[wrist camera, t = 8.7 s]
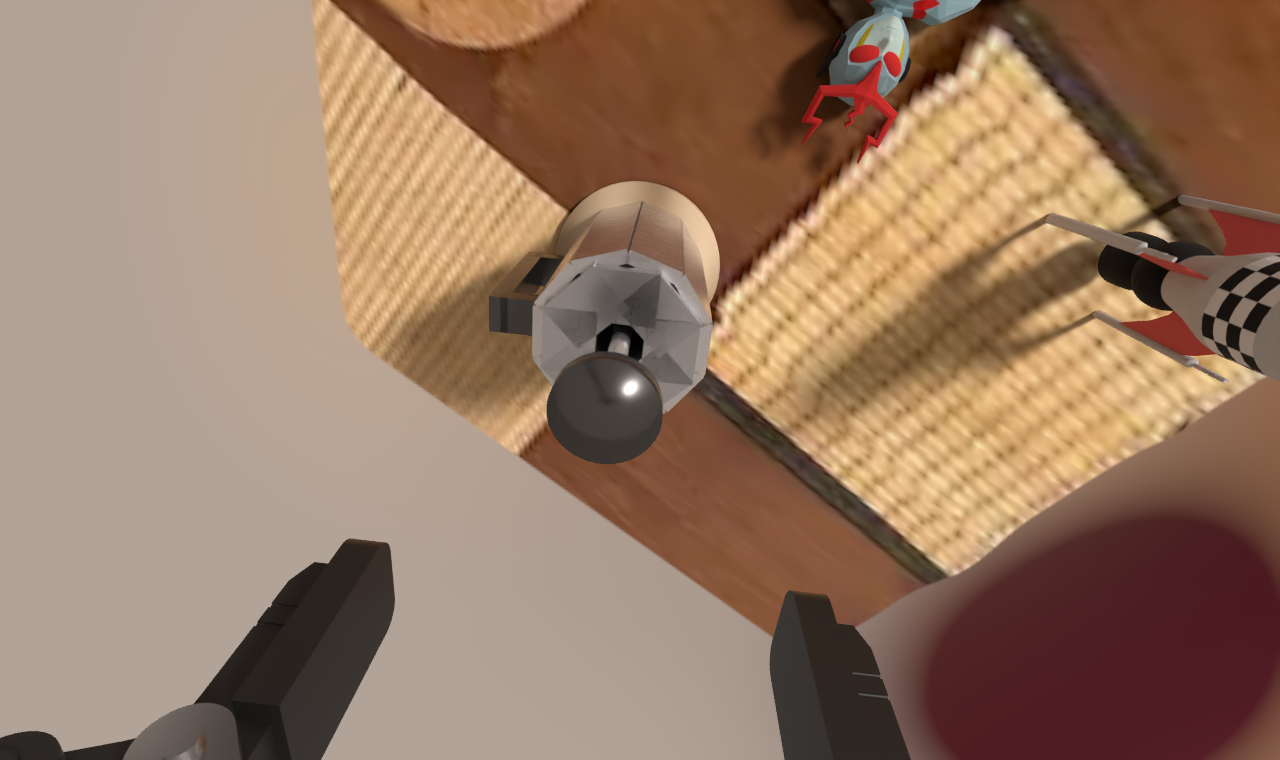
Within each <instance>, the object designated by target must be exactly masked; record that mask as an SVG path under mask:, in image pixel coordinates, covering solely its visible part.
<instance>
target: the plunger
mask: <svg viewBox="0 0 1280 760" xmlns="http://www.w3.org/2000/svg"><path fill="white" fill-rule="evenodd" d="M619 266H626V267H634V266H631V265H629V264H623V265H619ZM635 268H636V267H635ZM671 284H672V283H671ZM672 285H673V287H674V288H675V289H676V290H677V288H676V286H675V285H674V284H672ZM677 292H678V290H677ZM678 293H679V292H678ZM679 294H680V293H679ZM609 326H611V327H613V328H614V329H613V333H612V337H611V341H610V344H609V348H608V351H600V352H592V353H588V354H585V355H582V356H580V357H578V358H576V359H574V360H573V361H571V362H570V363H568V364H567V365H566V366H565V367H564V368H563V369H562V370H561V372H560V373H559V375H558V376H557V378H556V380H555V382H554V385H553V387H552V389H551V392H550V394H549V397H548V401H547V418H548V423H549V426H550V429H551V431H552V433H553V434H554V436H555V437H556V439H557V440H558V441H559V443H560V444H561V445H562V446H563V447H564V448H565V449H567V450H568V451H569V452H571V453H572V454H574V455H576V456H577V457H579V458H582V459H584V460H587V461H590V462H594V463H600V464H614V463H621V462H625V461H628V460H631V459H633V458H635V457H637V456H639V455H640V454H642V453H643V452H644V451H646V450H647V449H648V448H649V447H650V446H651V445H652V443H653V442H654V441H655V439H656V437H657V436H658V434H659V431H660V428H661V424H662V413H663V398H662V393H661V389H660V387H659V384H658V382H657V380H656V379H655V377H654V376H653V374H652V373H651V372H650V371H649V370H648V369H647V368H646V367H645V366H644V365H643V364H641V363H640V362H639V361H637V360H635V359H634V358H632V357H629V356H628V351H629V346H630V340H631V335H632V332H636V331H635V329H634V328H633V327H632V326H631V325H622V324H613V323H611V324H610V325H609Z"/></svg>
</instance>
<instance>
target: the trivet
mask: <svg viewBox="0 0 1280 760" xmlns="http://www.w3.org/2000/svg"><path fill="white" fill-rule="evenodd" d="M638 201H642V204H643V202H644V201H645V202H647V203H650V204H652V205H654V206H656V207H658V208H661V209H663V210H665V211H667V212H669V213H672V214H674V215H676V216H678V217H680V218H681V219H682V220H683V221H684V223H685V225H686V227H687V229H688V230H689V232H690V234H691V236H692V238H693V239H694V241H695V243H696V245H697V247H698V249H699V250H700V252H701V255H702V261H703V268H704V274H705V280H706V286H707V292H708V299H709V303H710V302H711V300H712V298H713V295H714V293H715V290H716V287H717V283H718V278H719V269H720V261H719V251H718V246H717V242H716V239H715V236H714V233H713V231H712V229H711V226H710V224H709V222H708V221H707V219H706V218H705V216H704V215H703V213H702V212H701V211H700V210H699V209H698V208H697V206H696V205H695V204H694V203H692V202H691V201H690V200H689V199H688V198H687V197H685V196H684V195H682V194H681V193H679V192H677V191H675V190H673V189H671V188H669V187H667V186H664V185H661V184H658V183H653V182H648V181H625V182H619V183H615V184H611V185H609V186H606V187H604V188H601V189H599V190H597V191H596V192H594V193H592V194H591V195H589V196H588V197H587V198H585V199H584V200H583V201H582V202H581V203H580V204H579V205H578V206H577V207H576V208H575V209H574V210H573V211H572V213H571V214H570V215H569V217H568V218H567V220H566V221H565V223H564V225H563V227H562V229H561V231H560V234H559V237H558V240H557V244H556V248H555V255H563V256H566V254H567V253H568V251H569V250H570V248H571V247H572V245H573V244H574V242H575V241H576V239H577V238H578V237H579V236H580V235H581V233H582V232H583V231H584V230H585V229H586V227H587V226H588V225H589V224H590V223H591V221H592V220H593V219H594V218H595V217H596V216H597V214H598V213H599V212H600V211H602V210H603V209H607V208H611V207H616V206H620V205H625V204H629V203H634V202H638Z"/></svg>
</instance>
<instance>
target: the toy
mask: <svg viewBox="0 0 1280 760" xmlns="http://www.w3.org/2000/svg"><path fill="white" fill-rule="evenodd" d="M1178 202H1179V203H1180V204H1182V205H1187V206H1191V207H1196V208H1200V209H1205V210H1209V212H1210V213H1211V214H1212V216H1213V217H1214V219H1215V220H1216V222H1217V223H1218V224H1219V226H1220V227H1221V229H1222V230H1223V233H1224V236H1225V239H1226V242H1227V243H1226V246H1225V250H1224V253H1223V255H1222V256H1215V254H1214V253H1213V252H1212V251H1210V250H1209V249H1207V248H1206V247H1204V246H1202V245H1199V244H1196V243H1192V242H1184V241H1180V242H1170V243H1168V242H1166V241H1165V240H1163V239H1161V238H1159V237H1156V236H1153V235H1149V234H1146V233H1143V232H1128V233H1124V234H1122V235H1121V234H1118V233H1115V232H1111V231H1108V230H1105V229H1102V228H1099V227H1096V226H1093V225H1090V224H1086V223H1083V222H1080V221H1077V220H1074V219H1071V218H1068V217H1065V216H1061V215H1058V214H1055V213H1052V214H1050V215H1049V216H1048V217H1047V218H1046V223H1048V224H1051V225H1054V226H1057V227H1060V228H1062V229H1065V230H1068V231H1071V232H1074V233H1077V234H1079V235H1082V236H1085V237H1088V238H1091V239H1094V240H1096V241H1099V242H1102V243H1105V244H1107V246H1106V247H1105V248H1104V249H1103V251H1102V252H1101V255H1100V257H1099V260H1098V270H1099V273H1100V275H1101V277H1102V278H1103V279H1104V280H1106V281H1107V282H1109V283H1112V284H1114V285H1116V286H1118V287H1121V288H1124V289H1128V290H1133V291H1134V293H1135V295H1136V296H1137V297H1138V298H1139V299H1140V300H1141V301H1142V302H1143V303H1145V304H1147V305H1148V306H1150V307H1153V308H1156V309H1159V310H1166V311H1173V312H1172V313H1171V314H1169V315H1167V316H1163V317H1160V318H1157V319H1154V320H1150V321H1134V322H1122V321H1120V320H1118V319H1116V318H1114V317H1112V316H1110V315H1108V314H1107V313H1105V312H1103V311H1095V312H1094V313H1093V314H1092V316H1093V317H1095V318H1097V319H1099V320H1101V321H1102V322H1104V323H1106V324H1108V325H1110V326H1112V327H1114V328H1116V329H1117V330H1119V331H1121V332H1123V333H1125V334H1127V335H1129V336H1130V337H1132V338H1134V339H1136V340H1138V341H1140V342H1142V343H1143V344H1145V345H1147V346H1149V347H1151V348H1153V349H1155V350H1156V351H1158V352H1160V353H1162V354H1164V355H1166V356H1168V357H1169V358H1171V359H1173V360H1175V361H1177V362H1179V363H1181V364H1182V365H1184V366H1186V367H1194V368H1196V369H1198V370H1200V371H1202V372H1204V373H1206V374H1208V375H1209V376H1211V377H1213V378H1216V379H1217V380H1219V381H1221V382H1223V383H1227V382H1229V380H1227V379H1225V378H1223V377H1222V376H1220V375H1219V374H1217V373H1215V372H1212V371H1211V370H1209V369H1207V368H1205V367H1203V366H1201V365H1199V361H1198V360H1196V359H1194V358H1192V357H1190V356H1200V355H1211V354H1218V355H1219V356H1221V357H1224V358H1226V359H1228V360H1231V361H1233V362H1235V363H1238V364H1240V365H1242V366H1244V367H1247V368H1249V369H1251V370H1253V371H1256V372H1258V373H1260V374H1262V375H1265V376H1267V377H1269V378H1272V379H1274V380H1277V381H1279V382H1280V215H1279V214H1275V213H1270V212H1265V211H1260V210H1255V209H1250V208H1245V207H1240V206H1235V205H1230V204H1225V203H1220V202H1215V201H1210V200H1206V199H1201V198H1196V197H1191V196H1186V195H1180V196H1179V197H1178Z"/></svg>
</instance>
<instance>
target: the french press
mask: <svg viewBox="0 0 1280 760" xmlns="http://www.w3.org/2000/svg"><path fill="white" fill-rule="evenodd" d="M623 264H629V265H631V266H634V267H626V266H619V265H623ZM635 267H636V268H635ZM671 283H672V284H674V285H675V286H676V288H677V290H678V292H679V293H680V294H679V293H678V292H677V290H676V289H675V288H674V287H673V285H672V284H671ZM540 286H545V287H544V289H543V290H542V292H541V293H540V294H539V295H534V294H535V293H536V291H537V290H538V288H539V287H540ZM611 323H613V324H622V325H631V326H632V327H633V328H634V329H635V331H636V332H632V335H631V340H630V346H629V351H628V356H629V357H632V358H634V359H635V360H637V361H639V362H640V363H641V364H643V365H644V366H645V367H646V368H647V369H648V370H649V371H650V372H651V373H652V374H653V376H654V377H655V379H656V380H657V382H658V384H659V387H660V389H661V393H662V398H663V413H665V410H666V411H667V412H668V411H669V410H670V409H671V408H672V407H673V406H674V405H676V404H677V403H678V402H679V401H680V400H681V399H682V398H683V397H684V396H685V395H686V394H687V393H688V392H689V391H690V390H691V389H692V388H693V387H694V386H695V385H696V384H697V383H699V382H700V381H701V380H702V379H703V378H704V375H705V372H706V365H707V359H708V352H709V346H710V339H711V333H712V326H713V323H712V317H711V311H710V305H709V299H708V292H707V286H706V280H705V274H704V268H703V261H702V255H701V252H700V250H699V249H698V247H697V245H696V243H695V241H694V239H693V238H692V236H691V234H690V232H689V230H688V229H687V227H686V225H685V223H684V221H683V220H682V219H681V218H680V217H678V216H676V215H674V214H672V213H669V212H667V211H665V210H663V209H661V208H658V207H656V206H654V205H652V204H650V203H647V202H645V201H644V202H643V204H642V201H638V202H634V203H629V204H625V205H620V206H616V207H611V208H607V209H603V210H602V211H600V212H599V213H598V214H597V216H596V217H595V218H594V219H593V220H592V221H591V223H590V224H589V225H588V226H587V227H586V229H585V230H584V231H583V232H582V233H581V235H580V236H579V237H578V238H577V239H576V241H575V242H574V244H573V245H572V247H571V248H570V250H569V251H568V253H567V254H566V256H563V255H554V254H545V253H535V252H529V253H528V254H527V255H526V256H525V257H524V258H523V259H522V261H521V262H520V263H519V264H518V265H517V266H516V267H515V268H514V269H513V270H512V271H511V273H510V274H509V275H508V276H507V277H506V278H505V279H504V280H503V281H502V282H501V284H500V285H499V286H498V287H497V288H496V289H495V290H494V291H493V292H492V293H491V295H490V296H489V328H490V331H494V332H504V333H513V334H522V335H532V357H534V358H533V360H534V362H535V363H536V365H537V366H538V367H539V369H540V370H541V372H542V373H543V374H544V376H545V377H546V379H547V380H548V381H549V383H550V384H551V386H552V387H553V385H554V382H555V380H556V378H557V376H558V375H559V373H560V372H561V370H562V369H563V368H564V367H565V366H566V365H567V364H568V363H570V362H571V361H573V360H574V359H576V358H578V357H580V356H582V355H585V354H588V353H592V352H600V351H608V348H609V344H610V341H611V337H612V333H613V329H614V328H613V327H611V326H609V325H610V324H611ZM663 413H662V414H663Z"/></svg>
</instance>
